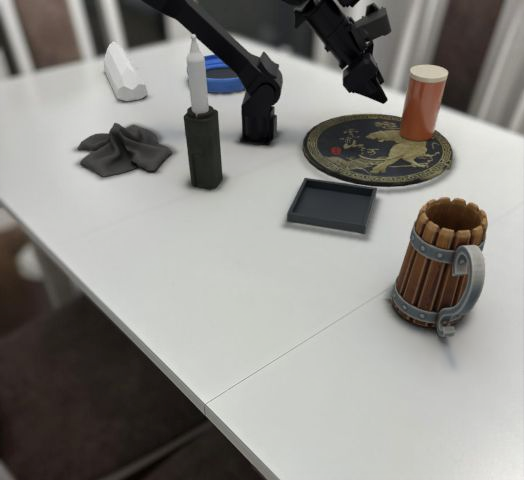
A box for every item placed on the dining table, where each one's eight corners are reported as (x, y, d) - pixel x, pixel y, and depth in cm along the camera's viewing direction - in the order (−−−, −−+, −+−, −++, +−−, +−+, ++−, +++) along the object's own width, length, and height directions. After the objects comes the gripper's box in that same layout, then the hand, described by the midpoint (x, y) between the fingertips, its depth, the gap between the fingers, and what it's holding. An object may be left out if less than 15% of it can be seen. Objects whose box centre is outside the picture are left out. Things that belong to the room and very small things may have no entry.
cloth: (179, 168, 104) (175, 138, 99) (82, 184, 100) (73, 153, 96) (159, 121, 118) (155, 93, 114) (74, 133, 115) (67, 104, 110)
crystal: (92, 54, 137) (107, 88, 121) (113, 36, 136) (131, 68, 120) (112, 79, 142) (129, 114, 127) (132, 61, 141) (152, 95, 126)
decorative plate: (291, 174, 98) (313, 107, 118) (291, 183, 99) (312, 115, 119) (457, 190, 94) (450, 118, 114) (454, 200, 95) (448, 127, 115)
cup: (420, 144, 106) (434, 81, 97) (391, 133, 109) (402, 71, 100) (440, 133, 109) (455, 71, 100) (411, 122, 112) (423, 61, 104)
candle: (224, 177, 101) (214, 30, 83) (214, 190, 98) (201, 40, 80) (200, 172, 103) (185, 27, 84) (189, 185, 99) (171, 37, 81)
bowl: (258, 94, 128) (258, 79, 125) (184, 94, 128) (182, 79, 126) (259, 67, 140) (259, 52, 138) (191, 67, 141) (190, 53, 138)
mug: (382, 283, 79) (400, 193, 68) (451, 278, 80) (480, 189, 69) (411, 360, 69) (438, 269, 58) (490, 354, 69) (531, 263, 58)
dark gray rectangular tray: (286, 226, 90) (287, 213, 88) (304, 189, 98) (304, 177, 96) (363, 238, 87) (365, 225, 85) (375, 200, 95) (377, 187, 93)
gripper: (371, 6, 85) (425, 80, 93) (366, -23, 98) (414, 44, 105) (319, 58, 92) (373, 123, 99) (320, 24, 104) (368, 85, 112)
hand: (384, 92), depth 104 cm, fingers open, 9 cm apart
